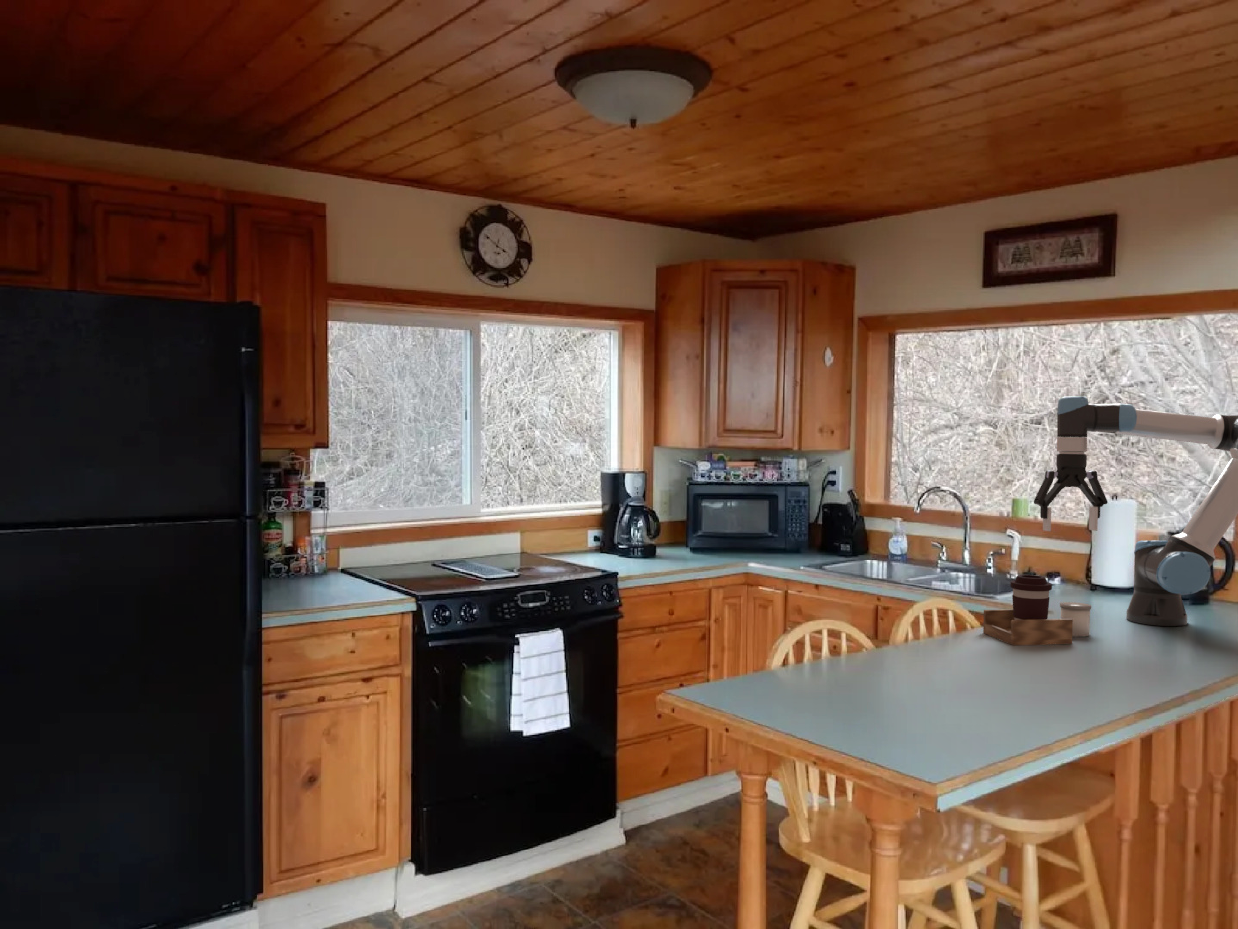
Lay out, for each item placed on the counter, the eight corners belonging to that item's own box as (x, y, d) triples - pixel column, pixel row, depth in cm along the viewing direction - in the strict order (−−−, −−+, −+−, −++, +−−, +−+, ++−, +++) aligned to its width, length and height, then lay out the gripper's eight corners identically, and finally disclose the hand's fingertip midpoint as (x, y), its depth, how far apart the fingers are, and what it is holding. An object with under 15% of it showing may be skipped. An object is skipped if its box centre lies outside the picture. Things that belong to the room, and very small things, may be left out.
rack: (1039, 631, 261) (1039, 608, 261) (1072, 643, 247) (1072, 619, 246) (983, 632, 259) (983, 609, 259) (1012, 645, 245) (1013, 620, 244)
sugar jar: (1079, 630, 263) (1080, 602, 263) (1096, 636, 256) (1097, 607, 255) (1053, 631, 262) (1054, 602, 262) (1069, 637, 255) (1070, 607, 254)
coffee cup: (1057, 638, 248) (1058, 579, 247) (1018, 637, 248) (1019, 579, 247) (1041, 629, 258) (1042, 573, 257) (1003, 629, 258) (1004, 573, 257)
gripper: (1105, 452, 271) (1103, 528, 272) (1021, 452, 268) (1019, 529, 268) (1122, 453, 263) (1120, 531, 264) (1036, 453, 260) (1034, 532, 261)
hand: (1069, 530), depth 266 cm, fingers open, 13 cm apart
